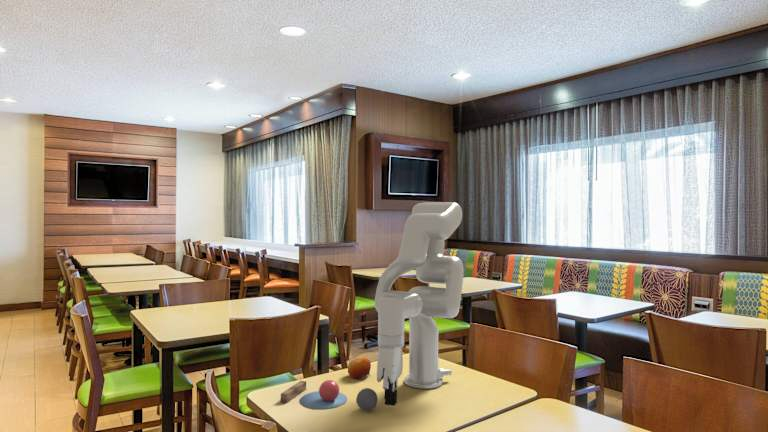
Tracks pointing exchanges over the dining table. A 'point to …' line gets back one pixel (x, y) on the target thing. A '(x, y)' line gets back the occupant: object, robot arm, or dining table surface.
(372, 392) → the grey ball
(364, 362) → the fruit
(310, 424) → the dining table surface
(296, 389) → the wall
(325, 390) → the object ball
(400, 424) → the dining table surface
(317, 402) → the blue flat disc
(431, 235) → the robot arm
